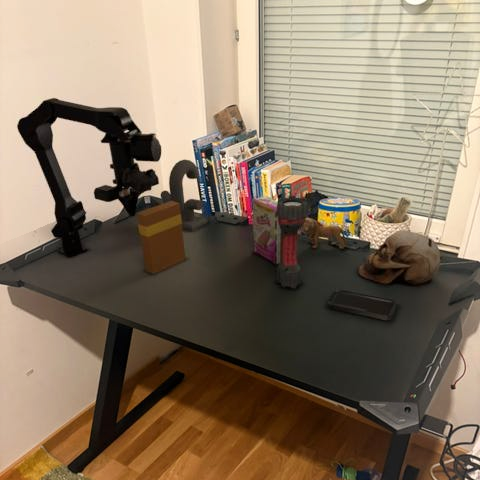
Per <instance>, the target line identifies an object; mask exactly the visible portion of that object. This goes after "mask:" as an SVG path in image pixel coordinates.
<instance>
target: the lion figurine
mask: <svg viewBox="0 0 480 480" xmlns="http://www.w3.org/2000/svg"><path fill="white" fill-rule="evenodd" d="M300 231H301V232H302V233H303V234H305V235H306V237H307V238H311V239H312V241H311V242H310V245H312V246H311V247H312V248H313V249H316V248H318V244H319V243H318V241H319V239H320V238H322V239H323V238H324V239H326V238H330V237H331V236H332V237H333V239H334V241H332V242H331V243H330V245H336V244H337V243H338V244H340V245H339V250H344V249H345V245H347V246H349V245H350V243H349V242H347V241H346V235H345V232H344V229H343V228H342V227H341V226H339V225H337V224H332V225H324V224H322V222H320V221H318V220H315V218H311V217H306V219H305V222H304V224H303V225H302V227H301V228H300ZM341 235H342V237H341Z"/></svg>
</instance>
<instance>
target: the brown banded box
mask: <svg viewBox="0 0 480 480" xmlns="http://www.w3.org/2000/svg"><path fill="white" fill-rule="evenodd" d="M136 217H137V226H138V231H139V237H140V243H141V249H142V250H141V251H142V255H143V262H144V268H145V271H146V272H148V273H149V274H152V275H155V274H157V273H159V272H161V271H163V270H166V269H168V268H170V267H172V266H174V265H176V264H179V263H181V262H184V261H185V260H186V253H185V252H186V250H185V242H184V234H183V229H182V220H181V213H180V203H177V202H174V201H169V202H166V203H161V204H158V205H155V206H152V207H149V208H147V209H144V210H142V211H138V212H136Z"/></svg>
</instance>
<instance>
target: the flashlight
mask: <svg viewBox="0 0 480 480" xmlns="http://www.w3.org/2000/svg"><path fill="white" fill-rule="evenodd" d="M277 201H278V202H277V216H278V224H279V227H280V229H281V236H280V264H278V265H277V266H276V267H277V268H276V269H277V277H276V278H277V279H276V280H277V283H278V284H280V286H281V287H282V288H284V289H285V288H291V290H293V289H297V286H300V285H301V279H302V278H301V277H302V276H301V275H302V268H301V267H300V265H299V264H298V262H297V244H298V241H297V240H298V233H299V230H301V227H302V225H303V224H304V222H305V219H306V218H308V214H309V204H308V199H307V198H305V197H304V196H303V197H301V198H300V197H296V195H293V194H292V195H288V197H284V198H283V197H279V198H278V199H277Z"/></svg>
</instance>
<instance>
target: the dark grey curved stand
mask: <svg viewBox="0 0 480 480" xmlns="http://www.w3.org/2000/svg"><path fill="white" fill-rule="evenodd" d="M185 176H186V178H187V179H189V180H196V179H199V178H200V172H199V168H198V166H197V165H196V164H195V163H194V162H193V161H192V160H191V159H181V160H179V161H177V162H176V163H175V164H174V165H173V166H172V168H171V170H170V174H169V176H168V177H169V178H168V187H169V191H168V190H163V191H161V192H160V198H161V200H162V202H163V203H162V204H164V203H166V202H169V201H174V202H177V203H180V213H181V220H182V230H184V231H190V232H194V231H196V230H197V229H198V230H199V228H201V227H203V226H205V225H207V224H208V219H207V218H204V217H200V216H196V215H195V211H201V210H202V209H203V207H204V203H203V201H202V200H201V199H195V198H190V199H187V200H185V193H184V185H183V181H184V177H185Z"/></svg>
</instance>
